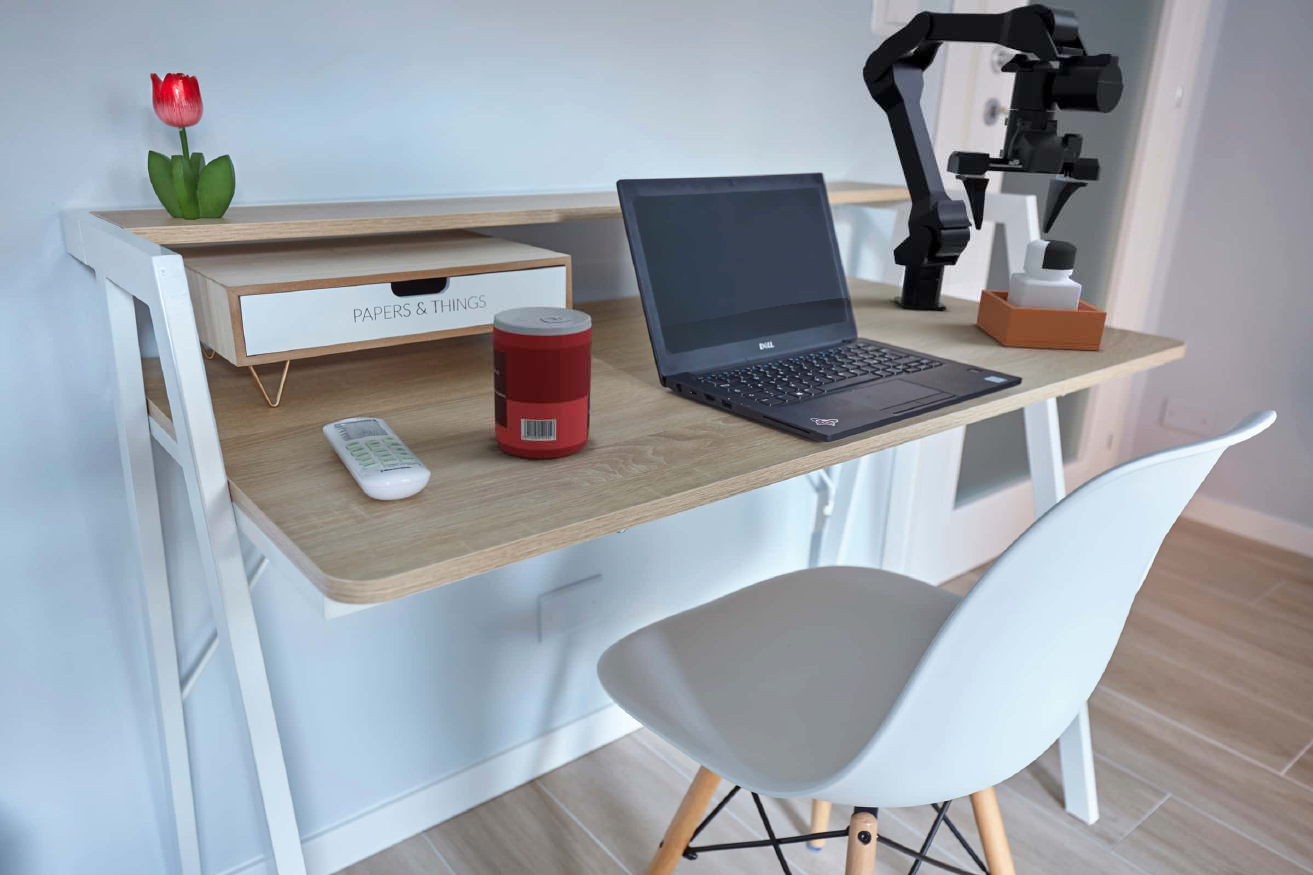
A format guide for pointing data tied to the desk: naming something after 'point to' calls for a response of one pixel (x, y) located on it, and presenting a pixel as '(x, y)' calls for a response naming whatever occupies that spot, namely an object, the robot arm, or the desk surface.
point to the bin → (1040, 324)
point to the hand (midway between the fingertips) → (1011, 231)
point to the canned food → (542, 381)
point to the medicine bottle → (1046, 277)
